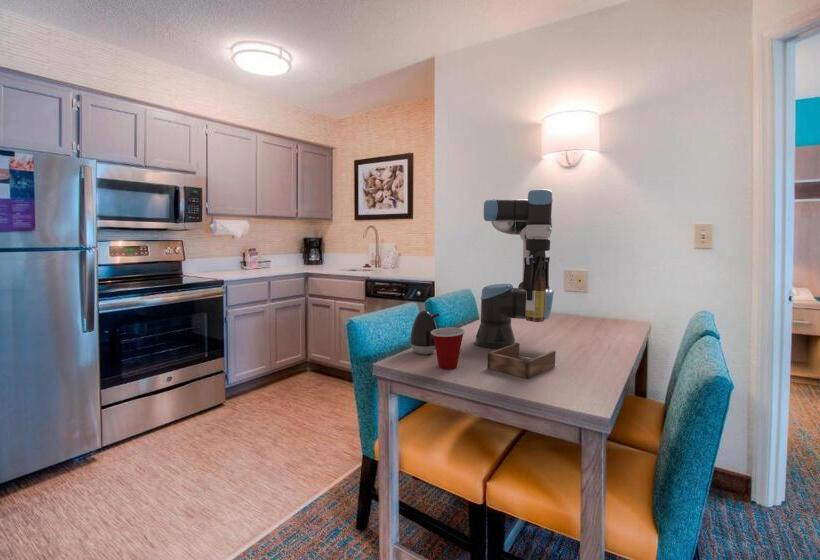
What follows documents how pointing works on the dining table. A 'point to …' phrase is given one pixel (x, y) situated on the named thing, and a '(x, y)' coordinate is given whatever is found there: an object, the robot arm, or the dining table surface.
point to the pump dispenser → (423, 333)
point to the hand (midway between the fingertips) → (535, 309)
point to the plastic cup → (448, 346)
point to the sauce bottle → (538, 298)
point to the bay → (519, 362)
